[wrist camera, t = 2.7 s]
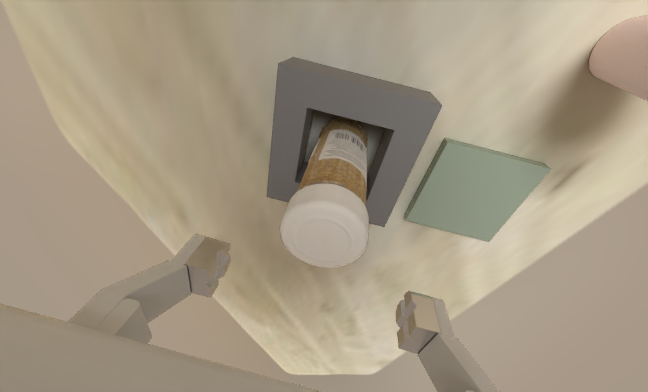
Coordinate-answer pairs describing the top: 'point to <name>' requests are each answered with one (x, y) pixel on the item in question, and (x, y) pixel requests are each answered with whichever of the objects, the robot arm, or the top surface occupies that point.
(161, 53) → the top surface
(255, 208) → the top surface
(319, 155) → the sprinkles bottle
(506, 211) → the rubber mat
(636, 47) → the smoothie
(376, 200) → the socket block
